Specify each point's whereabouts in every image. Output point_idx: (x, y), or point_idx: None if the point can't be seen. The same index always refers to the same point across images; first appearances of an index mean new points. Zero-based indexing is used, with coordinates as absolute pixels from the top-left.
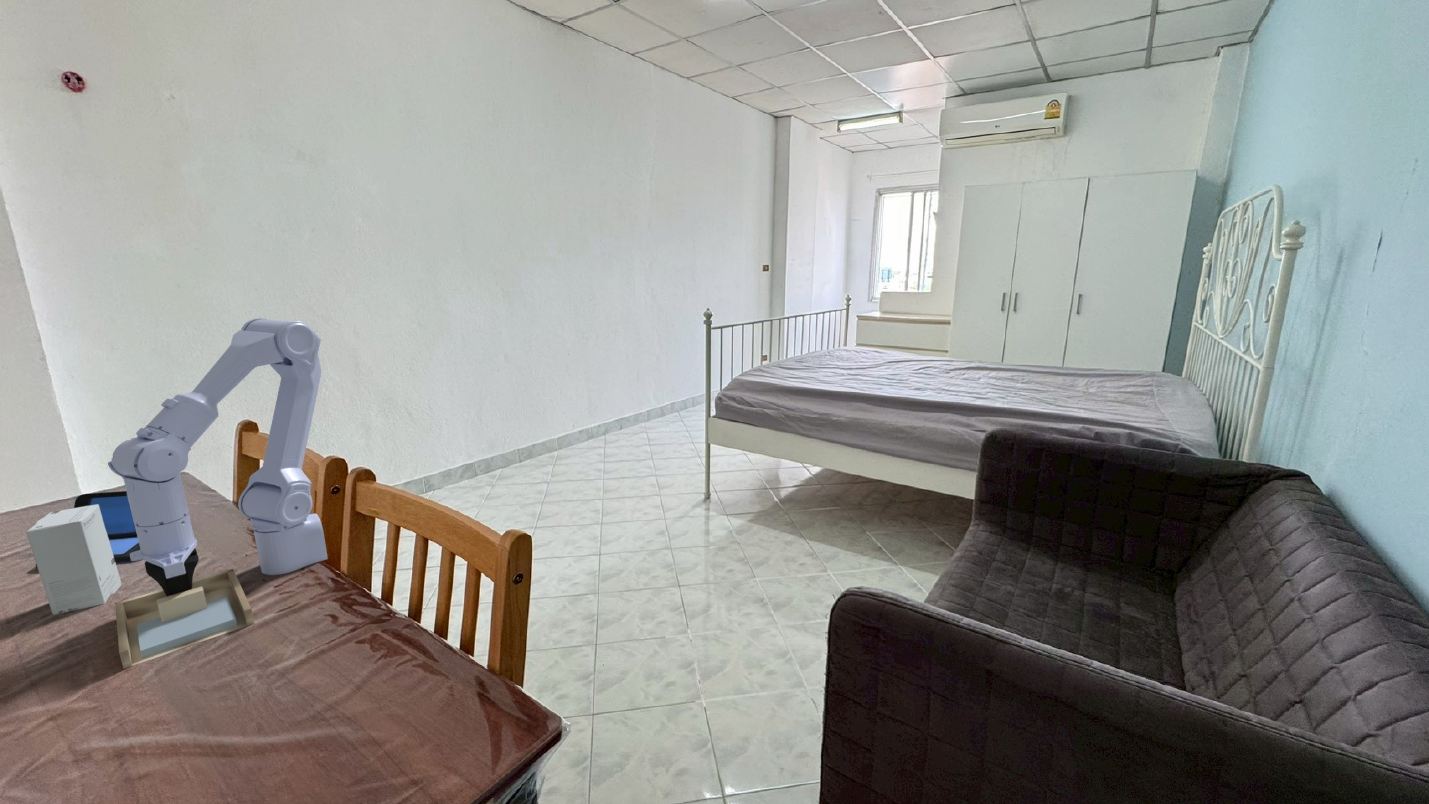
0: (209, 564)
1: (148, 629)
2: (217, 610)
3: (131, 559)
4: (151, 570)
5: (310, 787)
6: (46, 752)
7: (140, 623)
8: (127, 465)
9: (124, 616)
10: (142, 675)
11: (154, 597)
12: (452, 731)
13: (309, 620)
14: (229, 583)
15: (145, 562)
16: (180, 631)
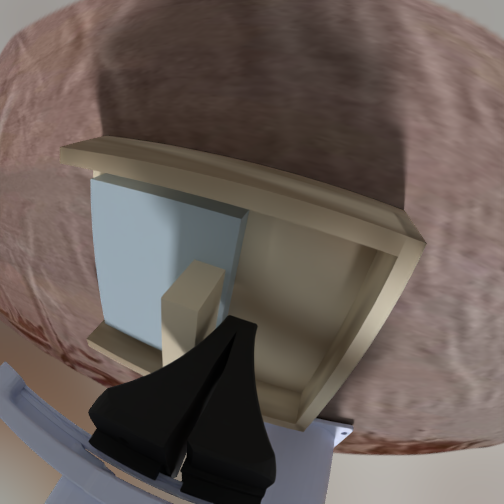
0: (460, 398)
1: (178, 225)
2: (157, 333)
3: (96, 480)
4: (90, 412)
5: None
6: (28, 50)
7: (302, 232)
8: None
9: (276, 215)
10: None
11: (361, 316)
12: None
13: None
14: (300, 398)
15: (239, 467)
16: (116, 258)
